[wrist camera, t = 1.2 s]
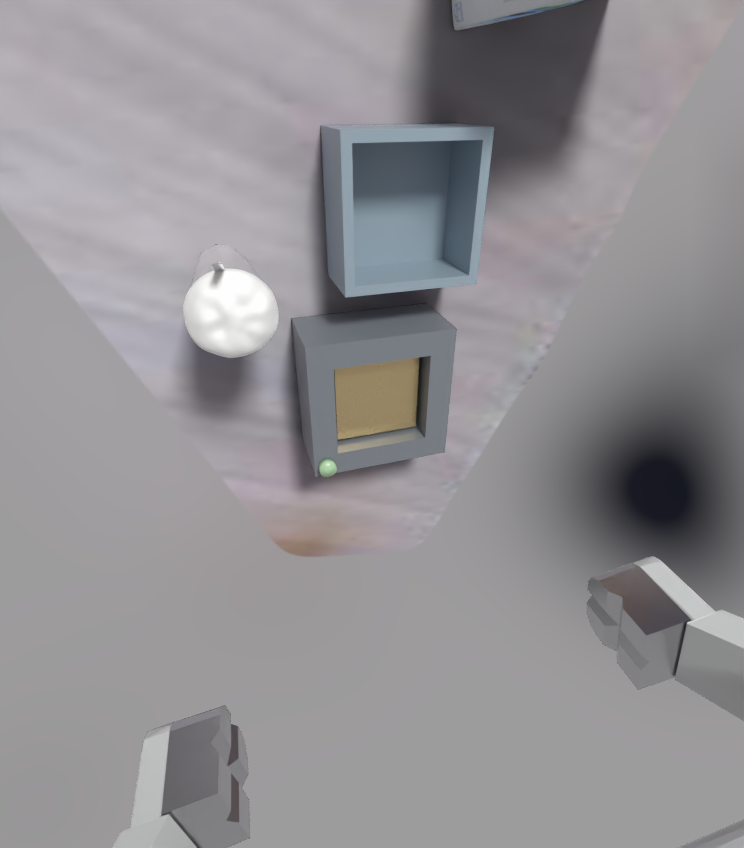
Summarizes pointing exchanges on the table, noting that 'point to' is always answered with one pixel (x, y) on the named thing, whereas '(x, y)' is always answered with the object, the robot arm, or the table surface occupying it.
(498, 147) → the table surface
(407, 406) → the plain tan rectangular plate
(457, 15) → the light bulb box
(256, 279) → the milkshake
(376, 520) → the table surface
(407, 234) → the bin
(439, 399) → the square frame
